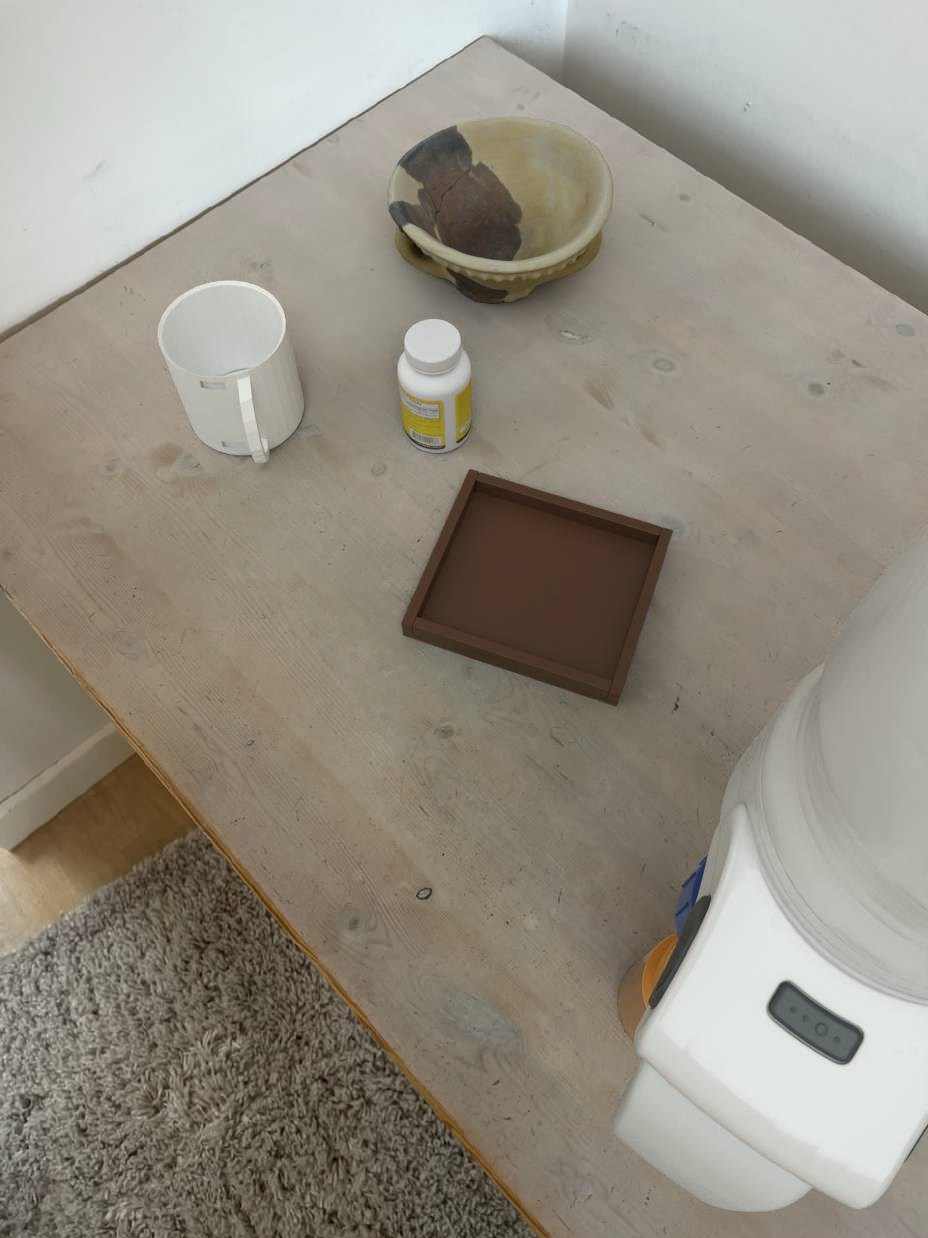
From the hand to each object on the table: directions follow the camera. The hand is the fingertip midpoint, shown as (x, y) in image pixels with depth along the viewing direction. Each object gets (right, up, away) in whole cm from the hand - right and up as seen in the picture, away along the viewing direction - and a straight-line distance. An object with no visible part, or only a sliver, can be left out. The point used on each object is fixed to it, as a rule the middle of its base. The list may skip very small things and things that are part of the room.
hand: (760, 923), depth 39 cm
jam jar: (0, -11, +19) cm, 22 cm away
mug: (-29, +27, +38) cm, 55 cm away
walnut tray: (-6, +14, +32) cm, 35 cm away
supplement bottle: (-14, +27, +38) cm, 49 cm away
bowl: (-9, +42, +46) cm, 62 cm away
